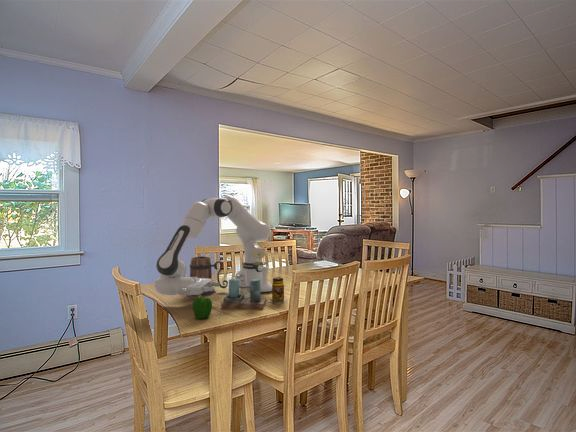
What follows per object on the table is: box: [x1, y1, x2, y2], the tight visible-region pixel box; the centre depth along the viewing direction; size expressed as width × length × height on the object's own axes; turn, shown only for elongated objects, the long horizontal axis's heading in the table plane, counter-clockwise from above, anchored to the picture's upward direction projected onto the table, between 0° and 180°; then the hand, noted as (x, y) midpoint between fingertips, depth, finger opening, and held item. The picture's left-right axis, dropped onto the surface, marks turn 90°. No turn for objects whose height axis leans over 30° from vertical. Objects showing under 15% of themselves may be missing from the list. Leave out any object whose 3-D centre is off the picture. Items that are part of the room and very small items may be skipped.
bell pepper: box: [192, 295, 213, 320], centre depth 144 cm, size 8×8×10 cm
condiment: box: [266, 276, 288, 305], centre depth 170 cm, size 7×8×12 cm
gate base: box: [220, 279, 267, 310], centre depth 162 cm, size 20×10×12 cm, turn 86°
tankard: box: [186, 256, 229, 298], centre depth 189 cm, size 24×17×20 cm
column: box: [228, 278, 240, 298], centre depth 162 cm, size 5×5×10 cm
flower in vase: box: [252, 247, 272, 293], centre depth 191 cm, size 13×11×25 cm
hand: (216, 286), depth 163 cm, fingers open, 8 cm apart
